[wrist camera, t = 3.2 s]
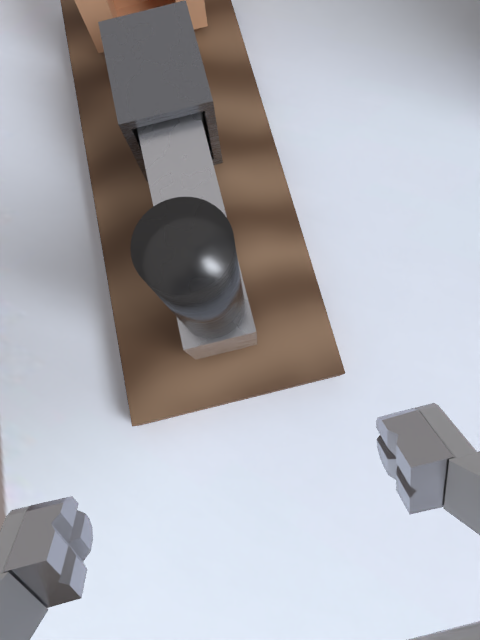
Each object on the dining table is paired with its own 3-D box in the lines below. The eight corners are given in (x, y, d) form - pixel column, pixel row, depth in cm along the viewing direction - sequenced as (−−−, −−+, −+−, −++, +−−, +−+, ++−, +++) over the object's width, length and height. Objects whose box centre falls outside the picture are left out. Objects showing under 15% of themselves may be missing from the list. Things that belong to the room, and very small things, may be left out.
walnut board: (340, 375, 26) (345, 373, 25) (139, 425, 26) (132, 426, 25) (218, -26, 35) (216, -45, 33) (67, 11, 35) (59, -6, 33)
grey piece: (257, 344, 24) (252, 283, 13) (195, 359, 24) (135, 312, 13) (189, 79, 29) (141, -139, 18) (138, 92, 29) (56, -118, 18)
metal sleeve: (222, 162, 29) (213, 100, 23) (146, 181, 29) (118, 124, 23) (200, 77, 31) (185, 0, 25) (128, 94, 31) (98, 22, 25)
